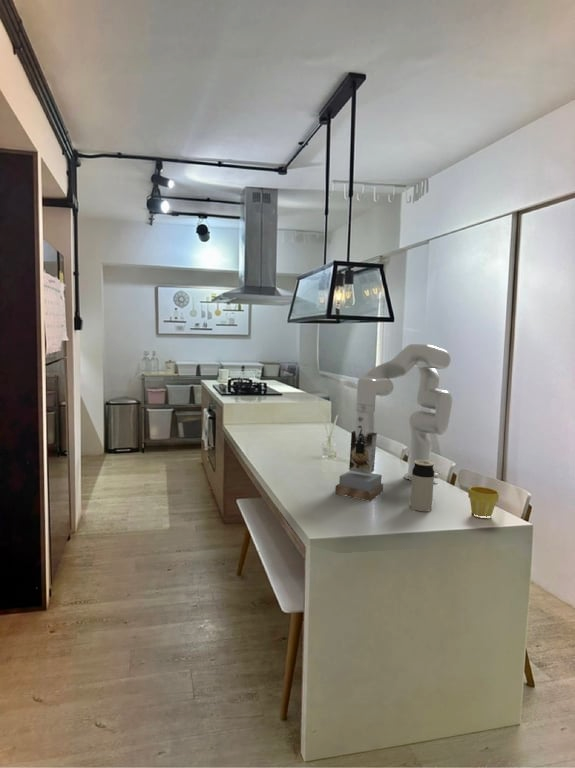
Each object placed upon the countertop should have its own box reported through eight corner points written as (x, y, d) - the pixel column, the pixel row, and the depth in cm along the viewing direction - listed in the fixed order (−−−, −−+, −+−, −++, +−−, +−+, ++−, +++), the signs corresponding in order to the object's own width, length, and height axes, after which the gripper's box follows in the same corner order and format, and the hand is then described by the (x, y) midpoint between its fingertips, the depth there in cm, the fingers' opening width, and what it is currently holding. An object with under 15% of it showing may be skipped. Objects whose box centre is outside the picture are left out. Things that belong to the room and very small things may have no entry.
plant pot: (489, 511, 189) (491, 486, 188) (501, 521, 179) (504, 495, 178) (462, 510, 189) (464, 485, 188) (473, 520, 179) (475, 493, 178)
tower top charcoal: (381, 484, 207) (381, 475, 206) (369, 491, 196) (369, 481, 195) (352, 478, 214) (353, 469, 213) (339, 485, 203) (339, 475, 202)
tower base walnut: (382, 493, 208) (383, 484, 207) (370, 502, 195) (370, 492, 194) (349, 486, 215) (349, 477, 215) (335, 495, 202) (335, 485, 202)
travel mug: (416, 512, 184) (420, 465, 182) (405, 505, 192) (409, 459, 190) (435, 511, 186) (439, 464, 185) (424, 504, 194) (427, 459, 192)
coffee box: (348, 470, 204) (350, 431, 202) (353, 467, 209) (356, 429, 208) (369, 474, 199) (372, 434, 198) (374, 470, 205) (377, 432, 204)
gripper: (366, 411, 193) (364, 457, 194) (381, 407, 208) (378, 449, 209) (348, 409, 196) (346, 454, 198) (364, 405, 211) (361, 446, 213)
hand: (362, 451), depth 204 cm, fingers closed on coffee box, 6 cm apart
